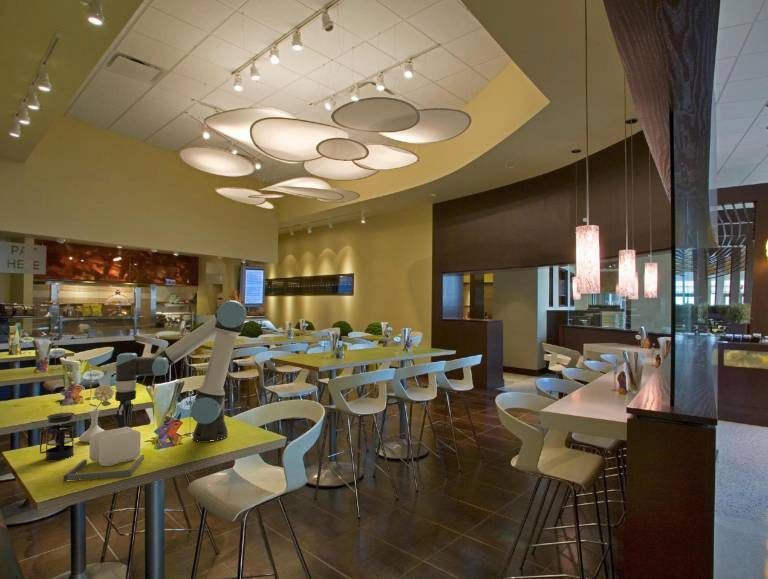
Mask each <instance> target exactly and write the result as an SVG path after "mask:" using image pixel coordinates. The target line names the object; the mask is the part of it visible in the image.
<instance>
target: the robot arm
mask: <svg viewBox="0 0 768 579" xmlns="http://www.w3.org/2000/svg"><path fill="white" fill-rule="evenodd" d="M247 316H248V310H247V307H246V306H245V305H244V304H243V303H242V302H240V301H238V300H234V299H233V300H232V299H231V300H227V301H225V302H222V303H221V304H220V306H219V307H218V309H217V311H216V313H215V314H213V317H212V318H210V319H209V320H208V321H206V322H204V323H203V324H202V325H200V326H198V327H197V328H196V329H194V330H192V331H191V332H190V333H188V334H187V335H185V336H184V337H182V338H181V339H179V340H177V341H176V342H174V343H173V344H171V345H170V346H168V347H167V348H165V349H163V350H162V351H161V352H159V353H157V354H156V355H155V356H152V357H138V354H137V353H136V352H124V353H120V354H118V355H117V356H116V362H115V382H114V386H115V390H116V391H114V394H115V395H114V396H115V397H114V400H115V401H116V402H119V405H118V410H116V414H117V428H122V427H130V428H131V426H132V417H133V416H132V415H133V409H134V403H132V401H133V400H135V399H136V398H137V390H136V389H137V376H138V377H140V376H156V377H158V376H164V375H166V374H167V373H168V371H169V367H171V366H172V365H175V363H177V362H179V361H180V360H181V359H183V358H184V357H186V356H187V355H189V354H190V353H191V352H192V353H193V351H195V350H196V349H198V348H199V347H201V346H202V345H204V344H205V343H207V342H209V340H211V339H213V338H215V339H214V342H213V344H212V345H213V346H212V349H211V353H210V355H209V356H210V357H209V359H208V365H207V367H206V372H205V376H204V377H203V378H204V379H203V383H202V385H201V386H199V387H197V390H196V395H195V397H194V401H193V403H192V404H191V407H190V415H191V418H192V420H194V421H195V422H196V424H195V428H194V430H193V433H192V440H193V439H194V440H198V441H210V440H217V439H221V438H224V437H226V436H227V435H228V436H229V431H228V427H227V425H226V424H227V423H226V421H225V396H226V391H225V388H224V386H225V382H226V378H227V374H228V370H229V366H230V363H231V359H232V355H233V351H234V347H235V344H236V341H237V337H238V336H239V335H241V334H242V332H243V328H244V324H245V321H246V319H247ZM228 436H227V437H228ZM227 437H226V438H227ZM224 439H225V438H224ZM194 440H193V441H194ZM221 440H222V439H221ZM198 441H197V442H198ZM217 441H218V440H217Z"/></svg>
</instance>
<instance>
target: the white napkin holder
mask: <svg viewBox="0 0 768 579" xmlns="http://www.w3.org/2000/svg"><path fill="white" fill-rule="evenodd" d="M141 436H142V435H141V432H140V431H139V430H137V429H134V430H133V428H131V427H122V428H118V427H117V428H113V429H107V430H105V431H101V432H96V433H93V434H92V435H91V436H90V442H89V452H88V453H89V455H88V459H89V460H91V461H92V462H97V463H98V464H99V465H100V466H102V467H111V466H115V465H116V464H119V463H123V462H124V463H128V462H132V461H134V460H136V459H138V458H139V457H140V456H141ZM131 460H132V461H131ZM127 461H128V462H127Z"/></svg>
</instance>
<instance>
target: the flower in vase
mask: <svg viewBox="0 0 768 579" xmlns="http://www.w3.org/2000/svg"><path fill="white" fill-rule="evenodd" d="M114 394H115V390H113V388H112V387H111V386H110V385H108V384H102V385H99V386H98V387H96V388H95V389H94V394H93V396H94V397H95V399H96V401H100V402H99V404H98V405H96V404H92V403H89V402H88V405H89V406H91V407H95V408H93V409H88V410H87V411H88V413H89V414H90V417H91V421H90V422H91V424H90V427H89V428H88V429H87V430H86V431H84V432H82V434H81V435H80V436H79V437H78V440H79V442H83V443H90V436H91V435H92V434H93V433H96V432H101V431H106V430H105V429H103V428H101V427H100V426H99V425H98V418H99V417H98V416H99V415H100V414H99V413H100V412H101V410H102V408H99V407H100V405H102V407H107V406H110V405H112V403H111V402H110V401H109V400H110V399H113V396H115V395H114Z"/></svg>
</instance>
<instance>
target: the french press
mask: <svg viewBox="0 0 768 579" xmlns="http://www.w3.org/2000/svg"><path fill="white" fill-rule="evenodd" d="M67 401H68V399H66V398H65V399H64V398H62V399H57V400H55V401H54V402H55V403H59V405H60V410H59V413H57V412H56V413H54V414H53V413H52V414H49V415H47V416H46V418H47V419H48V421H47V422H48V423H50V424H57V425H53V426H49V427H47V428H46V429H42V430H40V432H39V434H40V435H39V437H40V438H39V454H45V457H44V460H45V459H46V460H58V461H61V460H60V459H64V460H66V459H65V458H67V459H70V458H72V457H74V455H75V453H74V441H75V440H74V439H75V438H74V437H75V425H74V424H71V423H68V424H67V423H66V422H69V421H71V420H72V419H73V417H74V416H75V413H74V412H62V411H63V410H62V408H63V403H64V402H67ZM58 423H59V424H58ZM62 423H66V424H62ZM71 431H72V434H71V436H72V438H71V437H66V436H65V435H66V434H65V433H67V432H71ZM43 432H46V441H45V442H46V443H45V450H44V451H42V443H43V442H42V440H43V439H42V438H43V436H42V435H43ZM48 434H51V435H52V434H55V439H53V440H50V441H48V437H49V436H48ZM70 443H71V444H72V445H70ZM68 444H69V445H68ZM48 446H51V447H50V448H48ZM52 446H53V447H52ZM71 456H72V457H71ZM69 457H70V458H69ZM46 460H45V461H46Z"/></svg>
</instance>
